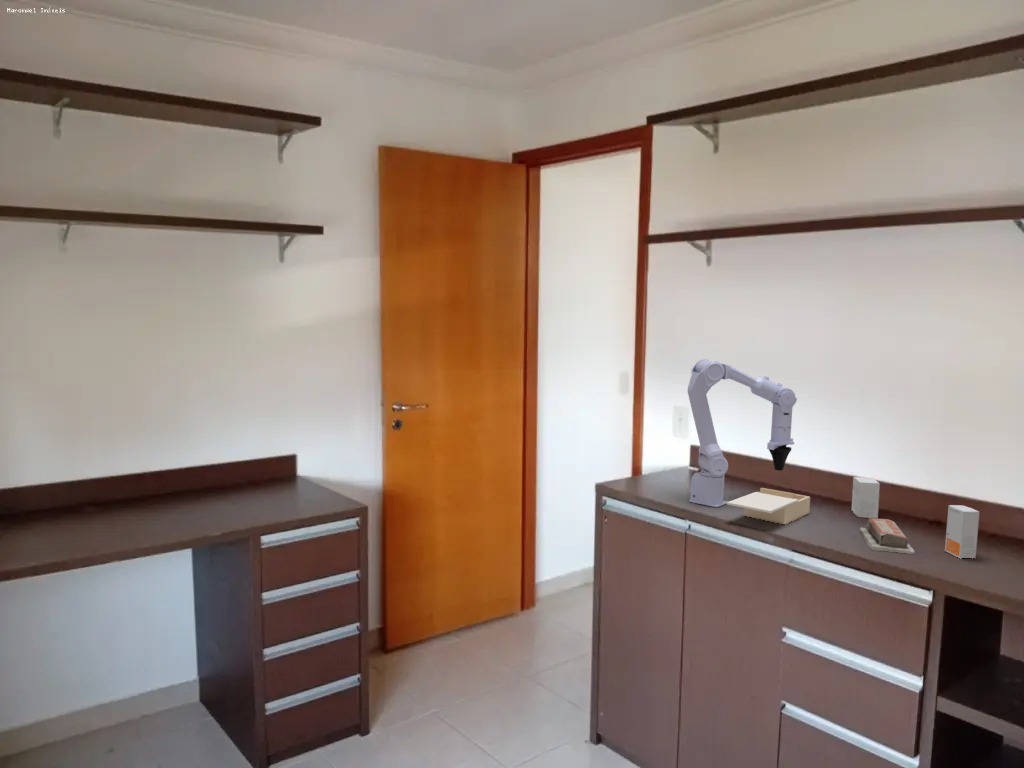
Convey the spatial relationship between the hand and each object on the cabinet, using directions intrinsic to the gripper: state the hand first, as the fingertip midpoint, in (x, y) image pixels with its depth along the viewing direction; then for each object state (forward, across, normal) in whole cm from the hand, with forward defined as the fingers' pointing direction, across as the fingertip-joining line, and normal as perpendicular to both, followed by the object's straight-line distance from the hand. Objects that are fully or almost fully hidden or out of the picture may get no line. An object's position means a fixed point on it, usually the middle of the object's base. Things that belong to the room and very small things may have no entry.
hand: (778, 469), depth 237 cm
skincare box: (+11, -17, -54) cm, 58 cm away
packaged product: (+11, -19, -37) cm, 43 cm away
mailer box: (+10, -14, -6) cm, 18 cm away
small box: (+11, +6, -24) cm, 27 cm away
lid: (+5, -24, -6) cm, 25 cm away
